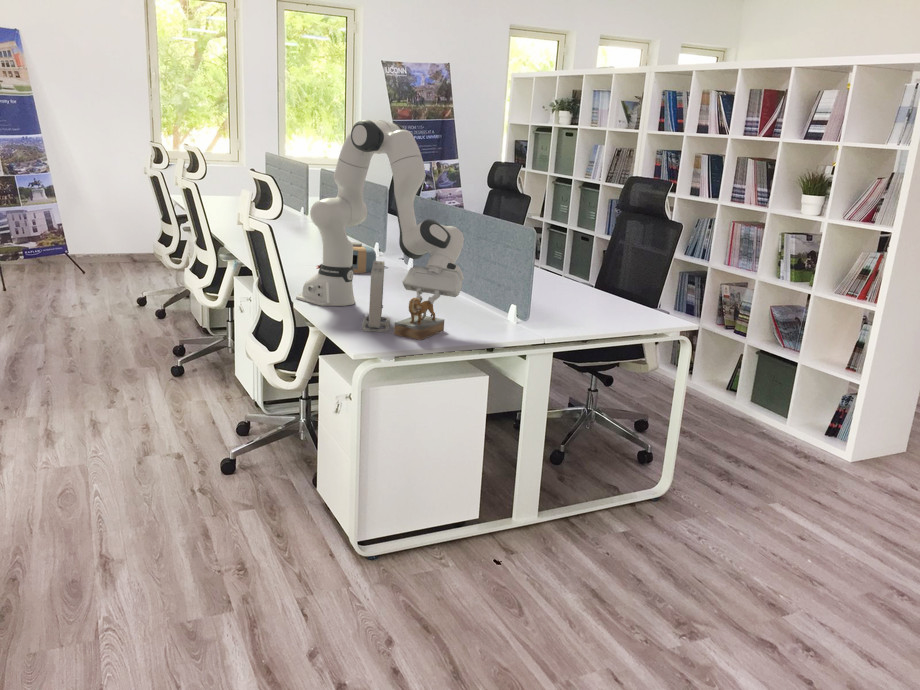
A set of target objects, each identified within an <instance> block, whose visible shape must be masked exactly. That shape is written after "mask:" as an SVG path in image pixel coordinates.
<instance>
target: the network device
mask: <svg viewBox="0 0 920 690" xmlns="http://www.w3.org/2000/svg"><path fill="white" fill-rule="evenodd" d="M370 272H371V273H370V287H369V290H370V291H369V309H368V311H369V312H368V315H367V316H363V320H362V321H363V322H362V326H361V329H362V330H363V331H366V332H376V333H377V332H378V333H382V332H383V333H384V332H388V331H389V327H390V318H389V317H387V316H386V317H385V316H382V313H383V308H384V305H383V299H384V281H385V279H384V278H385V260H384V261H383V260H376V261H374V262H373V267H372V271H370ZM382 320H385V321H382ZM366 326H368V328H367V327H366ZM381 327H385V328H381Z"/></svg>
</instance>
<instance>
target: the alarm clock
mask: <svg viewBox="0 0 920 690" xmlns="http://www.w3.org/2000/svg"><path fill="white" fill-rule="evenodd" d="M351 243H352V244H353V264H352V265H353V274H354V273H355V274H366V273H369V272H372V267H373V262H374V261H377V254H376V251H375V249H373V248H372V247H370V246H367V245H363V244H362V243H361V242H356V241H355V242H352V241H351Z"/></svg>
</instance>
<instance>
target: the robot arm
mask: <svg viewBox="0 0 920 690" xmlns="http://www.w3.org/2000/svg"><path fill="white" fill-rule="evenodd" d="M350 131H351V132H349V133H348V134H347V136H346V138H345V140H344V142H343V145H342V146H341V150H340V151H339V156H338V160H337V163H336V167H335V169H334V173H333V181H334V183H335V184H336V186H337V195H336V197H326V198H322V199H320V200H317V201H315V202H313V204H312V206H311V207H310V214H309V215H310V219H311V222H312V223H313V224H314V225H315V226H316V227H317V229H318V231H319V234H320V238H321V241H322V242H321V243H322V263H321V264H319V265H317V266H316V269H317V270H318V269H319V270H318V271H317V274H315V275H313V276H312V277H311V278H310V279H307V280H306V281H305V282H304V284H303V287H302V293H298V294H297V295H296V296H295V299H297V300H299V301H304V302H307V303H310V304H314V305H318V306H322V307H323V306H326V307H328V306H338V307H340V306H341V307H342V306H351V305H354V304H355V303H356V299H355V295H354V288H353V287H354V286H353V279H354V273H353V265H352V264H353V244H352V243H351V242H352V241H351V240H349V238H348V235H347V230H346V228H350V227H351V228H352V227H355V226H358V225H360V224H362V223H363V222H364V221H365V220H366V219H367V216H368V208H367V204H366V203H365V201H364V188H365V187H364V185H365V182H366V178H367V175H368V171H369V168H370V164H371V159H372V157H373V156H374V155H375V154H378V155H379V154H386V155H387V157H388V162H389V165H390V169H391V173H392V180H393V199H394V206H395V211H396V217H397V221H398V222H397V223H398V228H399V238H398V239H399V241H398V242H399V243H398V244H399V247H400V251H401V252H402V253H403V255H405V256H406V257H407V258H409V259H412V260H417V259H418V260H419V259H420V258H422V257H424V256H425V255H426V254H427V253H429V254H430V256H429V259H428V261H427V262H426V263H427V264H426V265H425V266H419V265H415V266H412V267H410V268H409V270H408V271H407V273H406V275H405V277H404V278H403V280H402V285H403V287H404V289H405V290H406V291H410V292H411V291H412V292H415V293H416V297H415V298H418V299H420V300H421V301H420V302H421V303H422V302H423V299H424V298H423V296H422V295H423V293H426V294H432V296H428V299H427V301H428V304H433V305H434V302H435V301H437V300H438V299H439V298H440V297H441V296H443V297H444V296H446V297H452V298H457V297H458V296H459V295H460V293H461V291H462V286H463V281H464V279H465V278H464V273H463V271H462V269H461V268H460V266H459V265H457V264H456V261H457V260H458V259H459V256H460V255H461V252H462V250H463V247H464V241H465V239H464V234H463V232H462V231H461V230H460V229H459V228H458V227H455V226H453V225H444V224H440V223H439V222H438V221H436V220H435V219H431V218H430V219H425V220H423V221H421V222H420V223H418V224H417V218H416V214H415V208H414V203H415V202H414V201H415V198H416V196H417V193H418V192H419V189H420V188H421V186H422V185H423V183H424V181H425V178H426V167H425V163H424V160H423V157H422V153H421V151H420V147H419V145H418V143H417V141H416V138H415V137H414V135H413V134H412V132H411V131H410V130H407V129H405V128H404V127H403V125H401V124H398V123H396V122H390V121H386V120H370V119H363V120H359V121H357V122H356V123H355V124H354V125H353V126H352V128H351V130H350Z"/></svg>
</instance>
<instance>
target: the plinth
mask: <svg viewBox="0 0 920 690" xmlns="http://www.w3.org/2000/svg"><path fill="white" fill-rule="evenodd" d="M422 317H423V314H422V316H421V318H422ZM432 318H433V317H431V316H429V315H428V316H427V315H426V316H425V318H424V320H421V324H417V323H418V315H416V316H414V323H410V321H412V319H411V316H410V317H407V318H404V319H401V320H398V321H395V322H394V327H393V335H396V336H399V337H404V338H408V339H413V340H418V341H421V340H424V339H427V338H429V337H431V336H434V335H437V334H439V333H442V332H444V331H445V321H446V320H445V319H443V318H439V317H435V320H432Z"/></svg>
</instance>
